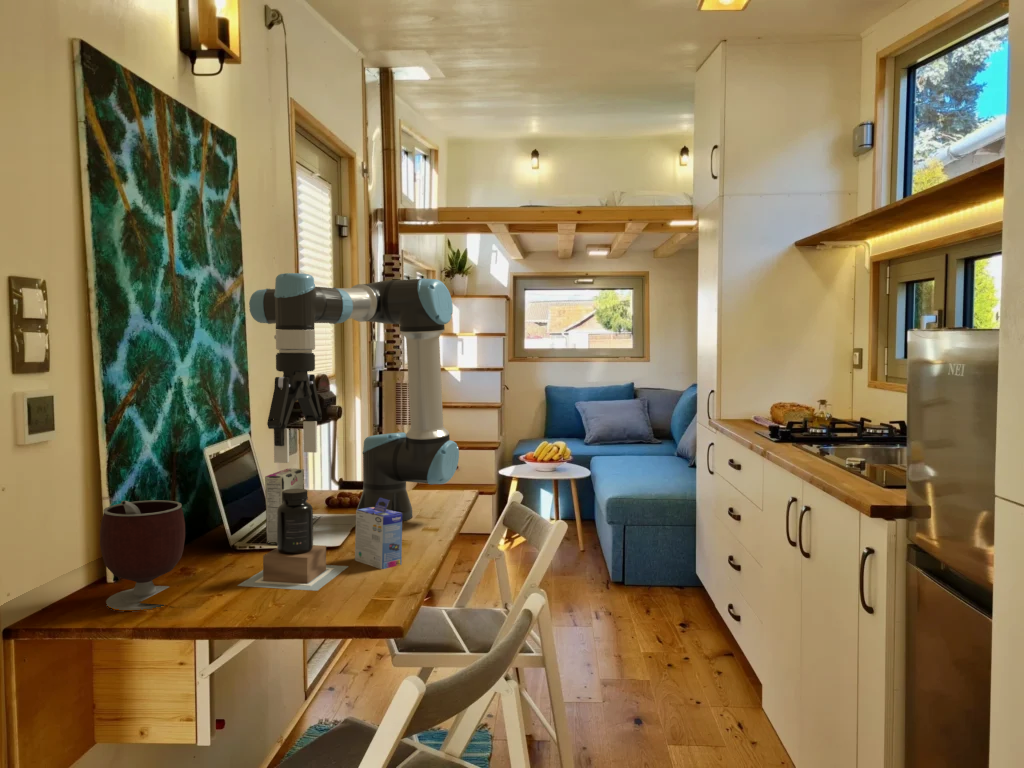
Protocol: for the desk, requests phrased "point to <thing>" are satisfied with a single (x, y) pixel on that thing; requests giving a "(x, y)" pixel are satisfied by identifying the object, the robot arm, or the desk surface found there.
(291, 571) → the walnut block
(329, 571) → the grey square plate
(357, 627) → the desk surface
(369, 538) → the ink cartridge box
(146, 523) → the mate gourd
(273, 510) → the candy bar box
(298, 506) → the supplement bottle
